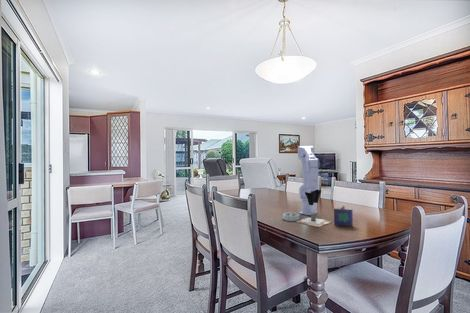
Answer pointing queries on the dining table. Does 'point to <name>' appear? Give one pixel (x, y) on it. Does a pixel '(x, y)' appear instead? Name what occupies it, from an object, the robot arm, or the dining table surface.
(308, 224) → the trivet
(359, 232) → the dining table surface
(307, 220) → the cover
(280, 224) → the dining table surface
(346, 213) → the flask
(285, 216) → the bowl
